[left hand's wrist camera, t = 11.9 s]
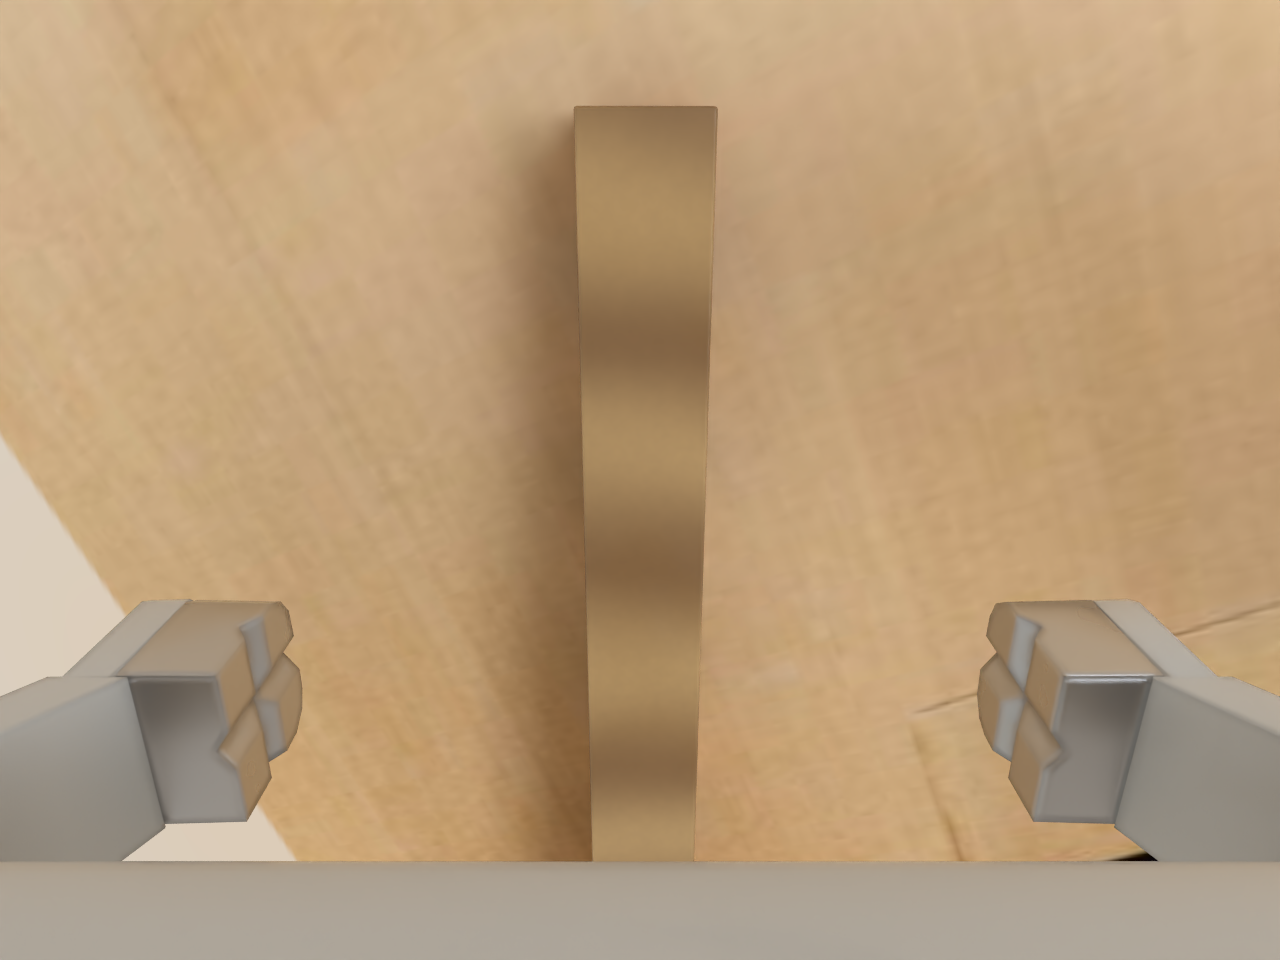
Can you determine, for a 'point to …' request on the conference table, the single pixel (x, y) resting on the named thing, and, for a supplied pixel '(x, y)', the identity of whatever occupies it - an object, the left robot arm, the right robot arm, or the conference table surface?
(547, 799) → the conference table surface
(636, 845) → the beam
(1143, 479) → the conference table surface
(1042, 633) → the left robot arm
